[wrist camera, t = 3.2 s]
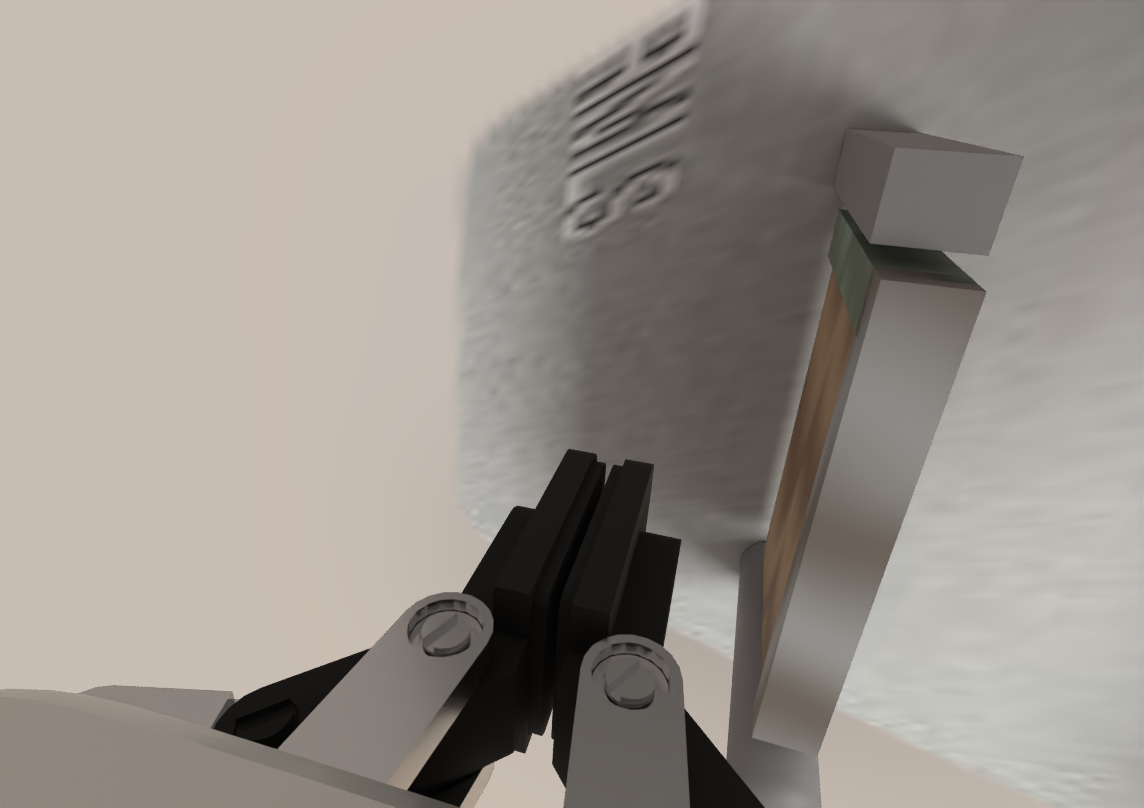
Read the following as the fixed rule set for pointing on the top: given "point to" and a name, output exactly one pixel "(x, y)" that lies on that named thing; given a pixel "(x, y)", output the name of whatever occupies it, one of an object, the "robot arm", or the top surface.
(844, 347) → the gate
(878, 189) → the post
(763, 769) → the hinge post
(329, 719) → the robot arm
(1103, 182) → the top surface
